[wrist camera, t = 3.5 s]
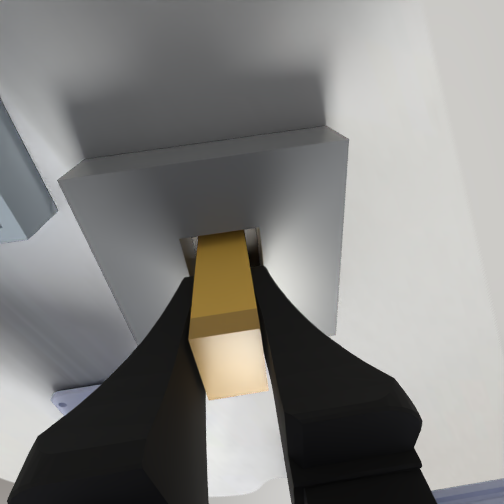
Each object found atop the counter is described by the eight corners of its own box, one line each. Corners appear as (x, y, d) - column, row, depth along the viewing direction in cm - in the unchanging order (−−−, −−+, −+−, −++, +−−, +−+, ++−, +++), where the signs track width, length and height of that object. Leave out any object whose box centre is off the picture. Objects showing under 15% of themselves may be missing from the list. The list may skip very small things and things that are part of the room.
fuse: (248, 267, 16) (268, 390, 10) (211, 273, 16) (208, 400, 10) (241, 216, 14) (260, 328, 8) (199, 223, 14) (188, 339, 8)
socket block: (321, 303, 18) (335, 335, 16) (155, 328, 18) (147, 364, 15) (326, 125, 12) (348, 139, 10) (84, 159, 12) (57, 180, 10)
